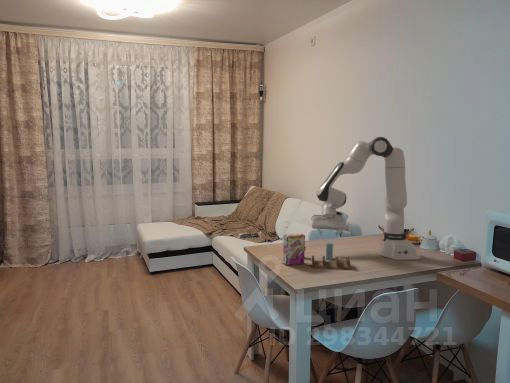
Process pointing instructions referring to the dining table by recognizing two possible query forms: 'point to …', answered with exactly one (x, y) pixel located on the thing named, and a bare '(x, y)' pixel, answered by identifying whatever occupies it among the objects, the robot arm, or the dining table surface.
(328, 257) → the teal rectangular block
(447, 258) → the dining table surface
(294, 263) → the candy bar box
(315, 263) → the rack
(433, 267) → the dining table surface
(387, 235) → the robot arm
